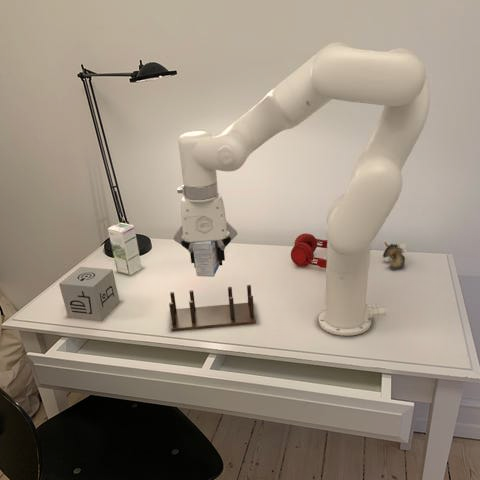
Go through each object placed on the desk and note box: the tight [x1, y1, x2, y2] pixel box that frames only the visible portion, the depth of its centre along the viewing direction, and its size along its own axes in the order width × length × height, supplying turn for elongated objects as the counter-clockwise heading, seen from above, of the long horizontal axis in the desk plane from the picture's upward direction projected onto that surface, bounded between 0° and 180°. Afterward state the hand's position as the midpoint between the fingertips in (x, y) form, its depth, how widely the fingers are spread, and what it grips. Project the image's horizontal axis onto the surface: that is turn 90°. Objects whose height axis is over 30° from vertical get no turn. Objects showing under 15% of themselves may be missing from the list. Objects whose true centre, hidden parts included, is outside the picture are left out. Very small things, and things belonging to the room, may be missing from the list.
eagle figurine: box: [382, 241, 408, 271], centre depth 151 cm, size 8×7×9 cm
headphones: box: [290, 232, 327, 269], centre depth 155 cm, size 15×7×20 cm
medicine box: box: [193, 241, 220, 278], centre depth 123 cm, size 8×4×9 cm, turn 170°
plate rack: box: [168, 284, 257, 332], centre depth 130 cm, size 21×10×7 cm, turn 94°
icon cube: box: [58, 266, 120, 322], centre depth 137 cm, size 10×10×10 cm
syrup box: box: [107, 222, 143, 276], centre depth 155 cm, size 6×6×14 cm
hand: (208, 263), depth 124 cm, fingers closed on medicine box, 5 cm apart
